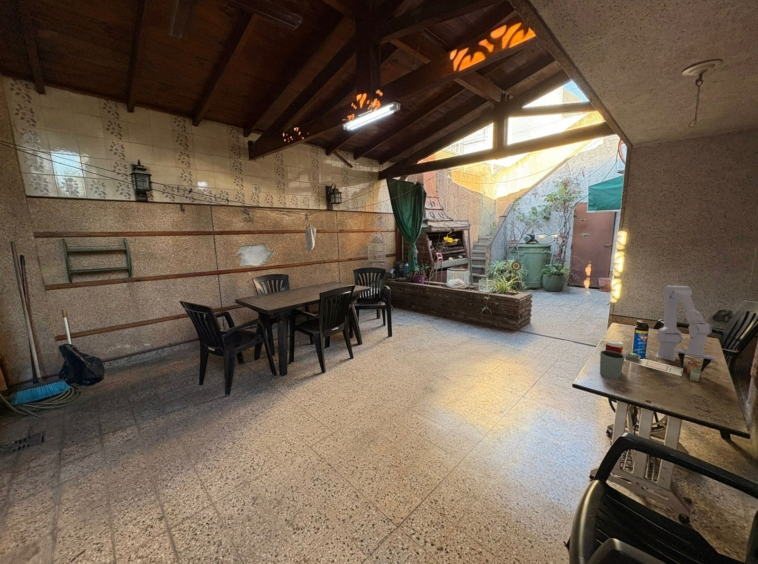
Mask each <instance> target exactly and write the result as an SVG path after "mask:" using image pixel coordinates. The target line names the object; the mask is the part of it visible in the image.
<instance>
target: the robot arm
mask: <svg viewBox="0 0 758 564" xmlns="http://www.w3.org/2000/svg"><path fill="white" fill-rule="evenodd" d="M662 290H663V294H662V295H663V296H662V297H663V299H664V308H663V309H664V310H663V311H664V312H663V313H664V314H663V316H664V317H663V318H664V319H663V327H661V328H659V329H658V330H657V334H656V341H658V342H659V345H658V349H657V350H658V351H657V353H656V355H655V357H656V358H660V359H664V360H668V361H672V362H673V361H674V362H675V361H676V358H677V357H676V354H677V356H678V358H679V361H680V368H683V369H684V364H685V363H684V362H685V357H686V356H689V357H693V358H698V359H702V365H701V367H700V370H701V373H703V372H704V370H705V369H706V368H707V366H708V365H710V364H711V363H712V362H716V359H717V357H716V356H712V355H708V354H707V353H706V354H705V353H704V351H705V346H706V344H707V343H706V342H707V337H708V335H709V336H710V334H712V332H713V330H712V329H713V327H712V325H710V323H708V322H707V321H705V320H704V317H703V315H702V314H701V312H700V311H699V310H697V309H696V308H695V305H694V303H693V300H692V294H693V291H692V289H691V287H690V286H689V285H666V286H665V287H664V288H663V289H662ZM678 302H680V303H681V306H682V307H683V308H684V309H685V311H686V312H685V313H684V316H685V318H686V320H687V322H688V325H689V326H688V335H689V340H688V345H687V349H680V348H677V347H678V346H679V345H680V344H682V342H683V336H682V331H680V330H679V329H678V328H677V326H678V325H677V324H678V323H677V317H678Z"/></svg>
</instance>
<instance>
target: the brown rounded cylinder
mask: <svg viewBox="0 0 758 564" xmlns="http://www.w3.org/2000/svg"><path fill="white" fill-rule="evenodd" d="M692 368H698V363H697V362H696V361H692V360H691V361H690V360H689V361H688V363H687V369H686V373H687V374H689V375H690V374H691V369H692Z"/></svg>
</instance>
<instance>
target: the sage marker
mask: <svg viewBox="0 0 758 564" xmlns="http://www.w3.org/2000/svg"><path fill="white" fill-rule="evenodd" d="M701 373H702V372H701V368H698V367H697V368H692V369H691V374H689V375H690V376H689V380H690V381H692V382H696V383H698V382H699V381H700V376H701Z"/></svg>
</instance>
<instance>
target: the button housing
mask: <svg viewBox="0 0 758 564" xmlns="http://www.w3.org/2000/svg"><path fill="white" fill-rule="evenodd" d="M629 353H630V352H627V353H626V355H624V356H625V359H626V360H630V361H634V362H637V363H639V361H640V358H642V356H641V355H639V354H637V358H636V357H631V356H629Z"/></svg>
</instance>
